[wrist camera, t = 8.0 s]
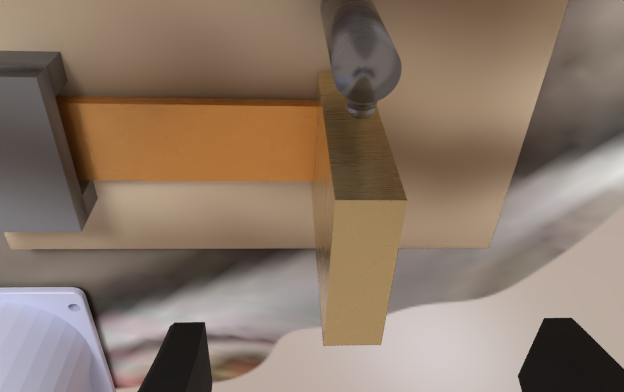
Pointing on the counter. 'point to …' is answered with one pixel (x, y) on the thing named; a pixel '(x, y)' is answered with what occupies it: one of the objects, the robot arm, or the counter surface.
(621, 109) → the counter surface
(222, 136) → the tan wooden block
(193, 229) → the strap board
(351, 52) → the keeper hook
